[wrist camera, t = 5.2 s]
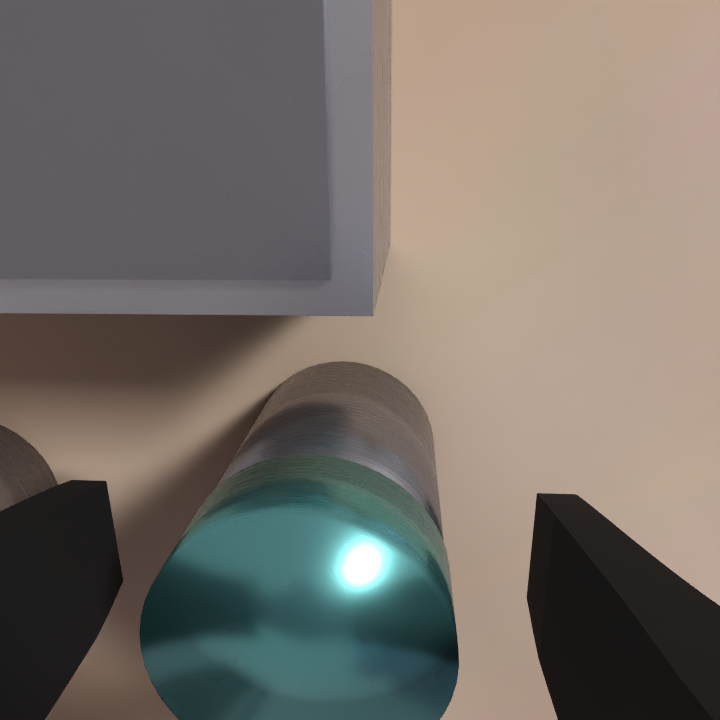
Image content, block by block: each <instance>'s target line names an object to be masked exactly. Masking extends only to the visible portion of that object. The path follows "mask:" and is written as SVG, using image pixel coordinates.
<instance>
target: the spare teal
mask: <svg viewBox="0 0 720 720" xmlns="http://www.w3.org/2000/svg"><path fill="white" fill-rule="evenodd" d="M140 643H141V651H142V656H143V660H144V664H145V667H146V670H147V672H148V674H149V677H150V679H151V682H152V684H153V685H154V687H155V689H156V691H157V692H158V694H159V696H160V697H161V699H162V700H163V701H164V703H165V704H166V705H167V707H168V708H169V709H170V711H171V712H172V713H173V714H174V715H175V716H176V717H177V718H178V719H179V720H440V718H441V717H442V715H443V714H444V712H445V711H446V709H447V707H448V705H449V703H450V701H451V699H452V696H453V692H454V689H455V686H456V683H457V676H458V669H459V656H458V642H457V633H456V623H455V614H454V605H453V596H452V586H451V577H450V568H449V562H448V556H447V551H446V548H445V545H444V542H443V532H442V522H441V512H440V502H439V492H438V482H437V471H436V461H435V451H434V441H433V434H432V429H431V425H430V422H429V419H428V416H427V414H426V412H425V410H424V408H423V406H422V405H421V403H420V402H419V400H418V399H417V397H416V396H415V395H414V394H413V393H412V392H411V391H410V389H409V388H408V387H406V386H405V385H404V384H403V383H402V382H400V381H399V380H398V379H396V378H395V377H393V376H392V375H390V374H388V373H386V372H384V371H382V370H380V369H378V368H375V367H372V366H369V365H365V364H360V363H355V362H343V361H342V362H328V363H323V364H318V365H315V366H312V367H308V368H306V369H304V370H302V371H300V372H297V373H296V374H294V375H293V376H291V377H290V378H288V379H287V380H286V381H285V382H283V383H282V384H281V385H280V386H279V387H278V388H277V389H276V390H275V392H274V393H273V394H272V395H271V397H270V398H269V400H268V401H267V403H266V405H265V406H264V408H263V410H262V411H261V413H260V415H259V416H258V418H257V419H256V421H255V423H254V424H253V426H252V428H251V429H250V431H249V433H248V434H247V436H246V438H245V439H244V441H243V443H242V444H241V446H240V448H239V449H238V451H237V453H236V454H235V456H234V458H233V459H232V461H231V463H230V464H229V466H228V468H227V469H226V471H225V472H224V474H223V476H222V477H221V479H220V481H219V482H218V484H217V486H216V487H215V489H214V490H213V491H212V492H211V493H210V495H209V496H208V497H207V498H206V499H205V500H204V502H203V503H202V505H201V506H200V508H199V509H198V511H197V512H196V514H195V516H194V517H193V519H192V521H191V522H190V524H189V525H188V527H187V529H186V530H185V532H184V534H183V535H182V537H181V538H180V540H179V542H178V543H177V545H176V547H175V548H174V550H173V551H172V553H171V555H170V556H169V558H168V559H167V561H166V563H165V564H164V566H163V568H162V569H161V571H160V572H159V574H158V576H157V577H156V579H155V581H154V582H153V584H152V586H151V588H150V590H149V592H148V595H147V597H146V599H145V602H144V606H143V610H142V614H141V622H140Z"/></svg>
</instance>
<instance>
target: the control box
mask: <svg viewBox="0 0 720 720" xmlns="http://www.w3.org/2000/svg"><path fill="white" fill-rule="evenodd" d="M390 122H391V0H0V313H45V314H168V315H291V316H374V311H375V307H376V302H377V298H378V294H379V289H380V285H381V281H382V276H383V272H384V267H385V263H386V259H387V254H388V250H389V246H390Z"/></svg>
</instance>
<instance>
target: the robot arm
mask: <svg viewBox="0 0 720 720" xmlns="http://www.w3.org/2000/svg"><path fill="white" fill-rule="evenodd" d="M122 583H123V577H122V571H121V565H120V559H119V553H118V548H117V542H116V536H115V530H114V524H113V518H112V512H111V506H110V501H109V495H108V489H107V483H106V481H86V480H71V481H68V482H65V483H62V484H60V485H57V486H55V487H52V488H50V489H47V490H45V491H43V492H40V493H38V494H36V495H34V496H32V497H29V498H27V499H25V500H23V501H21V502H19V503H17V504H14V505H12V506H10V507H8V508H6V509H4V510H2V511H0V720H45V718H46V717H47V715H48V714H49V712H50V711H51V709H52V708H53V706H54V704H55V703H56V701H57V700H58V698H59V697H60V695H61V694H62V692H63V690H64V689H65V687H66V686H67V684H68V683H69V681H70V680H71V678H72V676H73V675H74V673H75V672H76V670H77V668H78V667H79V665H80V664H81V662H82V660H83V659H84V657H85V656H86V654H87V653H88V651H89V649H90V648H91V646H92V644H93V643H94V641H95V639H96V638H97V636H98V634H99V632H100V630H101V628H102V626H103V624H104V622H105V620H106V618H107V616H108V614H109V612H110V609H111V607H112V605H113V603H114V600H115V598H116V596H117V594H118V591H119V589H120V587H121V585H122ZM527 601H528V607H529V612H530V618H531V623H532V628H533V633H534V638H535V643H536V648H537V653H538V658H539V661H540V665H541V668H542V671H543V674H544V677H545V681H546V684H547V687H548V690H549V693H550V696H551V699H552V703H553V706H554V709H555V712H556V715H557V718H558V720H720V606H719V605H718V604H716V603H715V602H713V601H712V600H711V599H709V598H708V597H706V596H705V595H704V594H702V593H701V592H699V591H698V590H697V589H695V588H694V587H693V586H691V585H690V584H689V583H687V582H686V581H685V580H683V579H682V578H681V577H679V576H678V575H677V574H675V573H674V572H673V571H672V570H670V569H669V568H668V567H666V566H665V565H664V564H662V563H661V562H660V561H659V560H657V559H656V558H655V557H654V556H652V555H651V554H650V553H649V552H647V551H646V550H645V549H644V548H642V547H641V546H640V545H639V544H637V543H636V542H635V541H634V540H632V539H631V538H630V537H629V536H627V535H626V534H625V533H624V532H623V531H621V530H620V529H619V528H618V527H616V526H615V525H614V524H613V523H612V522H610V521H609V520H608V519H607V518H606V517H604V516H603V515H602V514H601V513H599V512H598V511H597V510H596V509H594V508H593V507H592V506H591V505H589V504H588V503H587V502H586V501H584V500H583V499H582V498H580V497H579V496H577V495H576V494H543V493H537V499H536V510H535V520H534V530H533V540H532V550H531V560H530V570H529V580H528V591H527Z"/></svg>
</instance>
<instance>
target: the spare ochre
mask: <svg viewBox="0 0 720 720" xmlns="http://www.w3.org/2000/svg"><path fill="white" fill-rule="evenodd" d="M57 485H58V484H57V482H56V479H55V477H54V475H53V473H52V471H51V469H50V467H49V466H48V464H47V463H46V461H45V460H44V459H43V457H42V456H41V455H40V454H39V453H38V452H37V450H36V449H35V448H34V447H33V446H32V445H30V444H29V443H28V442H27V441H26V440H25V439H23V438H22V437H21V436H19V435H18V434H16V433H15V432H13V431H11V430H10V429H8V428H6V427H4V426H1V425H0V511H2V510H4V509H6V508H8V507H10V506H12V505H14V504H17V503H19V502H21V501H23V500H25V499H27V498H29V497H32V496H34V495H36V494H38V493H40V492H43V491H45V490H47V489H50V488H52V487H55V486H57Z"/></svg>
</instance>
